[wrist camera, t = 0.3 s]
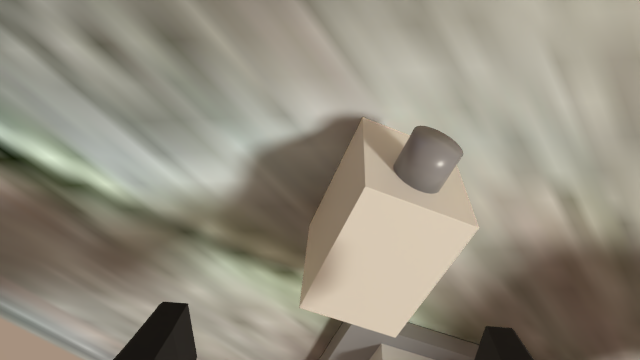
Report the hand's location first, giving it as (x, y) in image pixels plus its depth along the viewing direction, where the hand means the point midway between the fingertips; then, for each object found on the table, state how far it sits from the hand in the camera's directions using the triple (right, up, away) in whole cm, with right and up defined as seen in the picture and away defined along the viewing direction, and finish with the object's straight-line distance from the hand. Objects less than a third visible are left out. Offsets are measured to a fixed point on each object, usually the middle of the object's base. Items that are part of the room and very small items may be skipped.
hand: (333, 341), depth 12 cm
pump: (+2, +4, +9) cm, 10 cm away
